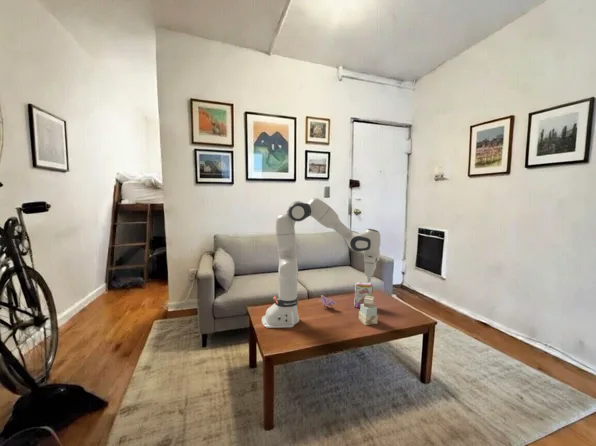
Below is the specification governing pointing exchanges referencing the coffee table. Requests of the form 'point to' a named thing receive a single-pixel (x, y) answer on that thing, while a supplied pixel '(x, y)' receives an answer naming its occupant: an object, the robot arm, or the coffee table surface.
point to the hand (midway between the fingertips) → (370, 279)
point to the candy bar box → (362, 292)
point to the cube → (369, 301)
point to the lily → (327, 301)
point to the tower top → (368, 310)
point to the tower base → (368, 319)
